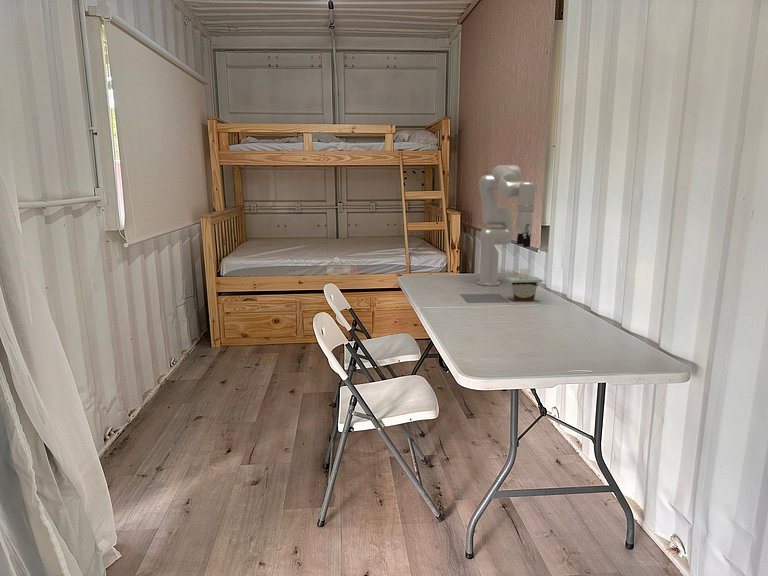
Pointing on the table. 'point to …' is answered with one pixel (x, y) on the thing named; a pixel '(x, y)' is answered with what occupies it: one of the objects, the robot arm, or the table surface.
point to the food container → (524, 291)
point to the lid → (523, 277)
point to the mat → (484, 298)
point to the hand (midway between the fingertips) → (523, 245)
